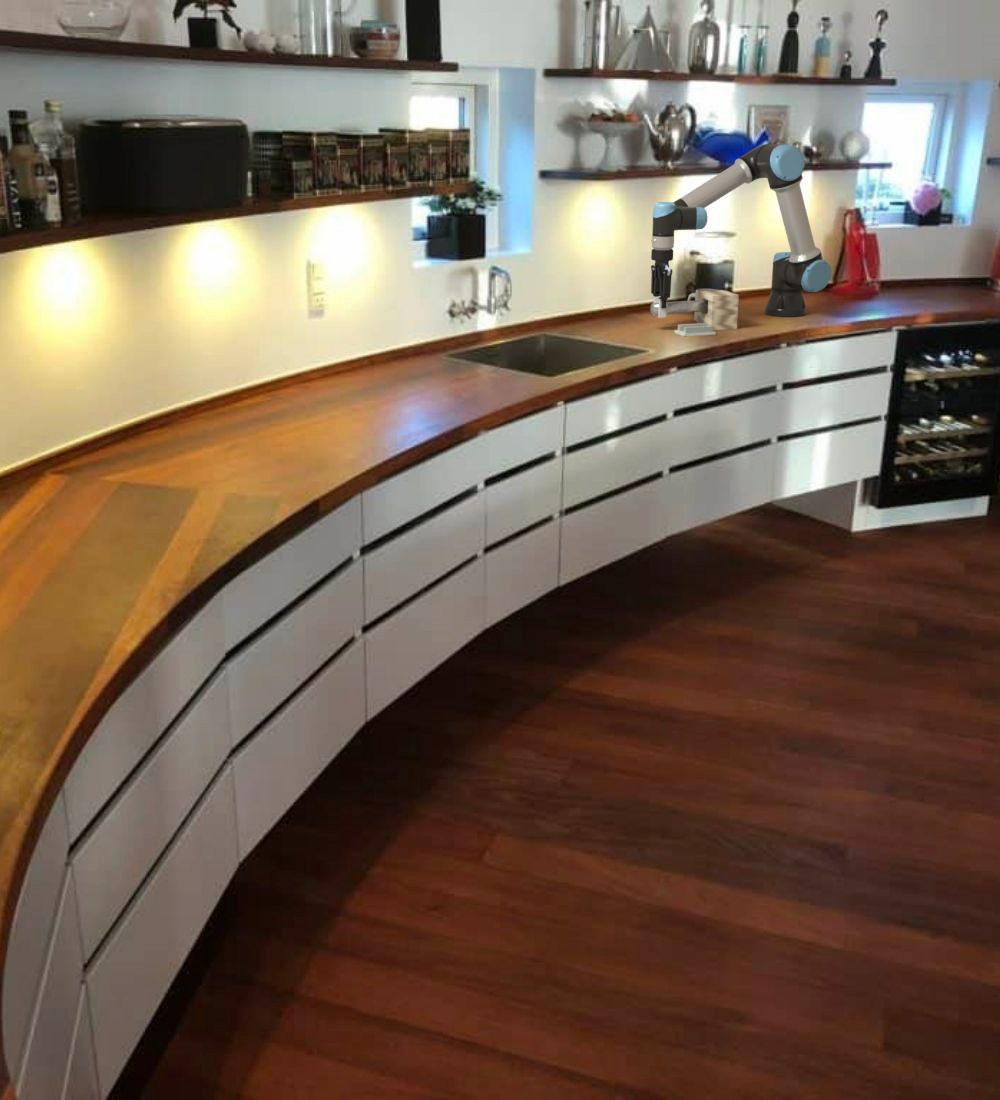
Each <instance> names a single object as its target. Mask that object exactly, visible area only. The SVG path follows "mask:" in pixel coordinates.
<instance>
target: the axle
mask: <svg viewBox="0 0 1000 1100" xmlns="http://www.w3.org/2000/svg"><path fill="white" fill-rule="evenodd" d="M649 310H650V313H651V314H652V316H654V314H658V311H659V303H654V302H652V303H650V309H649ZM705 311H708V300H697V301H695V300H691V301H688V300H682V301H667V311H666V315H668V314H670V315H671V314H684V313H694V312H705Z"/></svg>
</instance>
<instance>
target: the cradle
mask: <svg viewBox="0 0 1000 1100" xmlns="http://www.w3.org/2000/svg"><path fill="white" fill-rule="evenodd" d="M673 333H675V334H677V335H678V336H679V335H680V336H681V337H699V336H714V335H716V333H717V332H716V331H715V330H713V326H707V324H705V323H697V322H696V323H685V324H684V323H683V324H682V323H681V324H677V329H675V330H674V332H673Z"/></svg>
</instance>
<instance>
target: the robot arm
mask: <svg viewBox="0 0 1000 1100" xmlns="http://www.w3.org/2000/svg"><path fill="white" fill-rule="evenodd" d="M805 160H806V159H805V157H804V154H803V153H802V151H801V150H800V149H799V148H798V147H796V146H794V145H790V144H787V143H785V144H784V143H783V144H776V143H775V144H774V143H765V144H761V145H759V146H756V147H755V148H753V149H751V150H749V151H748V152H746V153H745V154H743V155H741V156H740V157H738V158H737V159H735V161H734V164H733V165H730V166H729V167H728V168H726V169H725V170H723V171H721V172H720V173H717V175H715V176H713V177H712V178H710V179H709V180H707V181H706V182H704V183H702V184H701V185H699V186H697V187H696V188H694V189H693V190H692V191H690V192H688V193H687V194H685V195H683V196H682V197H680V198H678V199H676V200H674V201H657V202H655V203H654V205H653V211H652V232H651V233H652V235H651V236H652V238H651V240H650V241H651V248H652V249H651V252H650V253H651V257H650V258H651V260H652V261H654V264H652V265H651V266H650V269H651V280H650V281H651V282H650V283H651V285H650V287H651V288H650V294H652V296H653V303H659V311H658V314H654V315H653V316H658V318H659V319H660V318H661V319H662V318H667V314H666V311H667V302H668V299H669V298H671V292H672V291H671V289H672V287H671V286H672V276H673V269H671V268H670V264H669V263H670V262H671V261H673V260H674V250H673V248H674V245H675V231H696V230H703V229H704V228H706V225H708V213H707V210H706V209H705V208H707V207H708V206H710V205H712V204H714V203H715V202H716V201H718V200H720V199H722V198H723V197H725V196H726V195H728V194H729V193H730V192H732V191H735V189H737V188H739V187H741V186H742V185H744V184H750V183H752V182H754V181H757V180H760V179H767V182H768V186H769V189H770V190H772V191H773V192H775V194H776V199H777V203H778V207H779V210H780V215H781V219H782V223H783V226H784V230H785V233H786V237H787V241H788V245H789V249H790V251H786V252H776V253H775V254H774V255H773V260H772V273H771V274H772V275H771V287H770V288H771V290H770V294H769V297H768V298H767V302H766V304H765V306H764V314H766V315H769V316H775V317H801V316H802V317H803V316H805V315H806V313H807V311H806V310H807V307H806V302H805V299H804V294H803V293H804V292H803V291H805V292H809V293H810V292H813V293H814V292H815V293H816V292H819V291H822V290H823V289H825V288H826V287H827V285H828V284H829V282H830V280H831V278H832V272H833V271H832V266H831V265H830V263H829V262H828V261H827V260H825V259H823V255H822V250H821V249H820V248H818V247H816V245H815V240H814V236H813V232H812V229H811V225H810V221H809V217H808V213H807V209H806V204H805V201H804V197H803V194H802V193H803V192H802V189H801V183H802V181H803V179H804V178H803V172H804V169H805V165H806V161H805Z"/></svg>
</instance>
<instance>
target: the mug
mask: <svg viewBox="0 0 1000 1100" xmlns="http://www.w3.org/2000/svg"><path fill="white" fill-rule="evenodd" d="M713 290H717V289H716V288H715V289H714V288H697V289H696V290H695V292H692V293H690V294H688V298H687V301H692V298H694V301H697V300H698V291H713ZM693 313H694V315H693V320H694V322H697V312H693Z"/></svg>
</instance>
